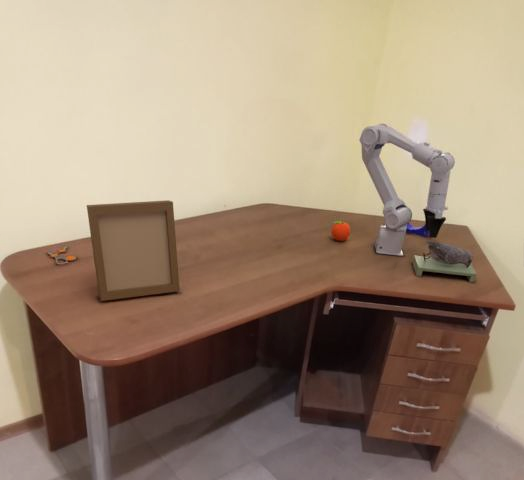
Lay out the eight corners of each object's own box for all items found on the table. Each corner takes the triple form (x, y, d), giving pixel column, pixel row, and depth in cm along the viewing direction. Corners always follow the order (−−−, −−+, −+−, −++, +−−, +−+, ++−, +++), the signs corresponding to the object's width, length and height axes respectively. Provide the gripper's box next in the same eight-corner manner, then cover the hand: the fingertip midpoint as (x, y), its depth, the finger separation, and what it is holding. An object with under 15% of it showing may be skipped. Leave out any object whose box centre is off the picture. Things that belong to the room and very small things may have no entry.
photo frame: (179, 294, 149) (178, 208, 135) (101, 304, 141) (91, 214, 127) (166, 271, 160) (164, 191, 146) (93, 279, 152) (83, 195, 138)
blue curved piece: (396, 229, 207) (399, 215, 203) (399, 226, 210) (403, 212, 207) (425, 237, 202) (429, 223, 198) (428, 234, 205) (432, 220, 202)
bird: (470, 271, 171) (477, 250, 167) (421, 264, 173) (426, 243, 169) (468, 264, 176) (475, 244, 171) (420, 257, 177) (425, 237, 173)
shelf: (416, 275, 172) (418, 267, 170) (412, 263, 180) (414, 255, 179) (474, 282, 171) (476, 274, 170) (467, 269, 180) (469, 261, 178)
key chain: (78, 262, 160) (78, 260, 160) (54, 266, 157) (53, 263, 156) (68, 246, 169) (68, 244, 168) (45, 250, 166) (44, 247, 165)
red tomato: (325, 241, 191) (328, 222, 187) (329, 234, 196) (332, 216, 193) (347, 245, 189) (350, 226, 185) (350, 238, 195) (353, 220, 191)
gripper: (454, 199, 163) (447, 241, 169) (445, 188, 175) (439, 227, 182) (431, 198, 163) (425, 240, 170) (424, 187, 176) (418, 227, 183)
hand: (430, 233), depth 176 cm, fingers open, 7 cm apart
